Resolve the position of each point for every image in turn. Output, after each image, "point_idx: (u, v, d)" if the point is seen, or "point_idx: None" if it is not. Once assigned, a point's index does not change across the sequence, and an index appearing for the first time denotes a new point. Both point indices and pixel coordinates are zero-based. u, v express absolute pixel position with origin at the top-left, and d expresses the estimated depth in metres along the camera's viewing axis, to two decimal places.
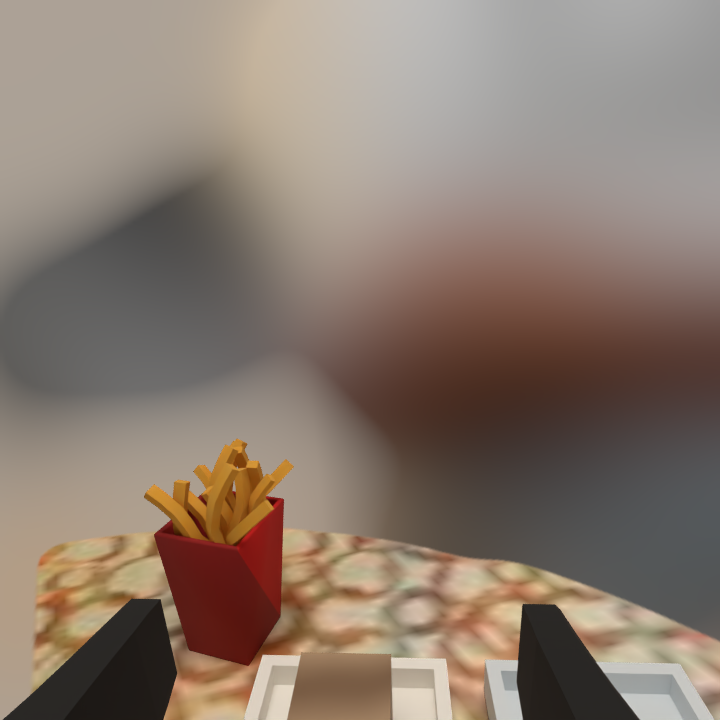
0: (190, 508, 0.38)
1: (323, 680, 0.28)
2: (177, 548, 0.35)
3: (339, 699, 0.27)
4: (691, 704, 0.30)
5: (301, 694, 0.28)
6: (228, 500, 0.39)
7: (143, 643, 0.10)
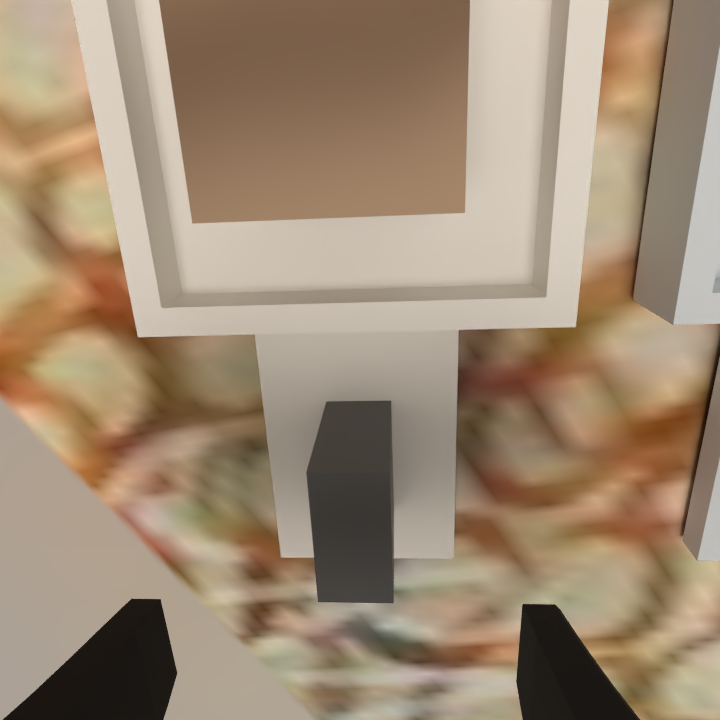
0: None
1: (252, 18, 0.09)
2: None
3: (313, 91, 0.09)
4: None
5: (197, 82, 0.09)
6: None
7: (143, 643, 0.10)
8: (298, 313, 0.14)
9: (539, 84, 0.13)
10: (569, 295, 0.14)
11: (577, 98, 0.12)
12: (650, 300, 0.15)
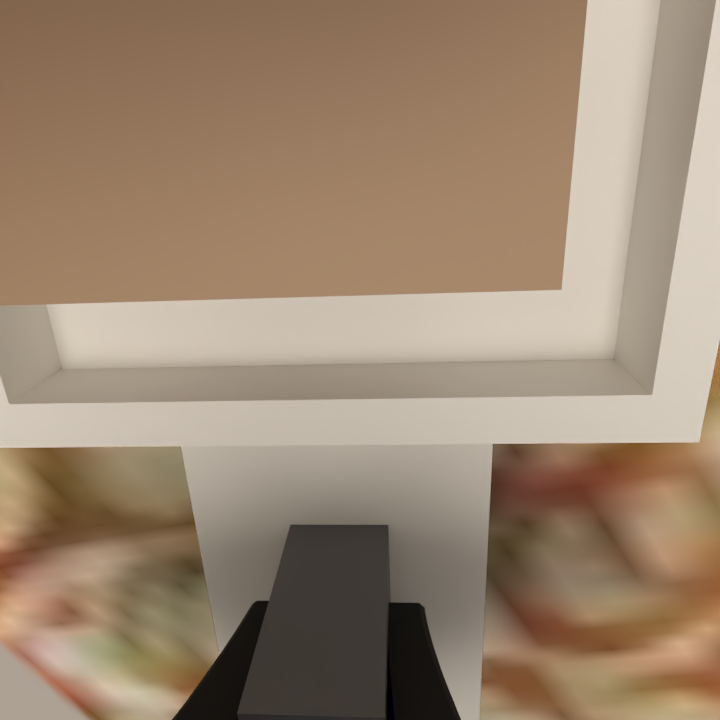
0: None
1: None
2: None
3: None
4: None
5: None
6: None
7: None
8: (233, 415, 0.09)
9: (645, 27, 0.08)
10: (691, 390, 0.08)
11: None
12: None
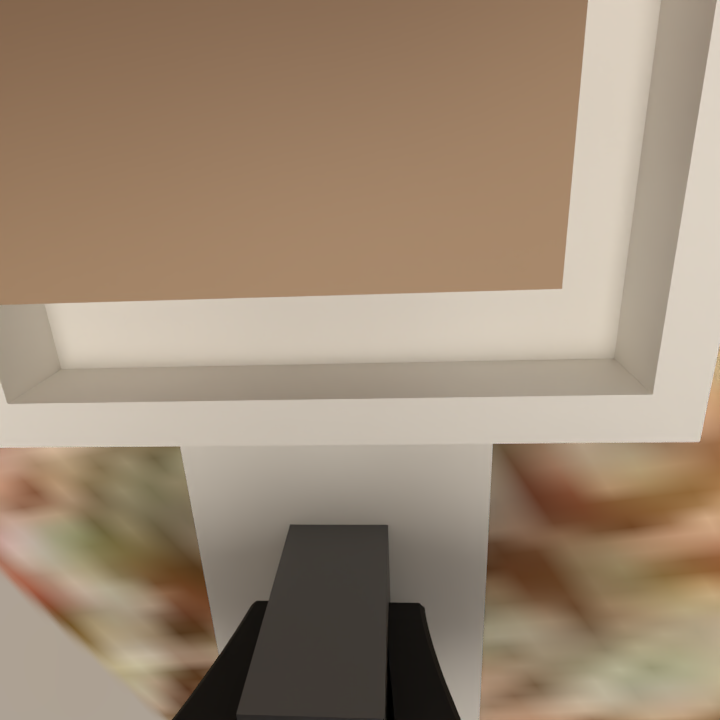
0: None
1: None
2: None
3: None
4: None
5: None
6: None
7: None
8: (232, 415, 0.09)
9: (646, 25, 0.08)
10: (691, 389, 0.08)
11: None
12: None
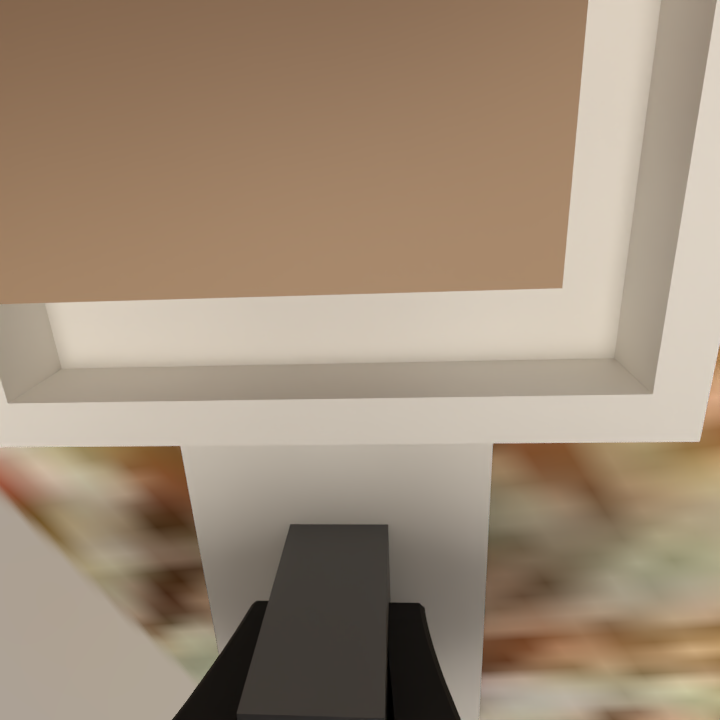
0: None
1: None
2: None
3: None
4: None
5: None
6: None
7: None
8: (233, 414, 0.09)
9: (645, 26, 0.08)
10: (691, 389, 0.08)
11: None
12: None
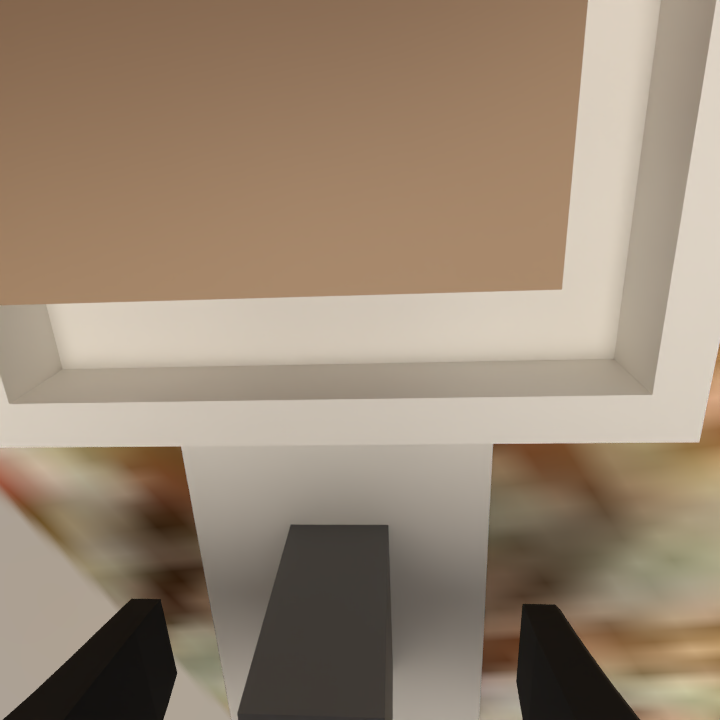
0: None
1: None
2: None
3: None
4: None
5: None
6: None
7: (143, 643, 0.10)
8: (233, 415, 0.09)
9: (645, 27, 0.08)
10: (691, 390, 0.08)
11: None
12: None
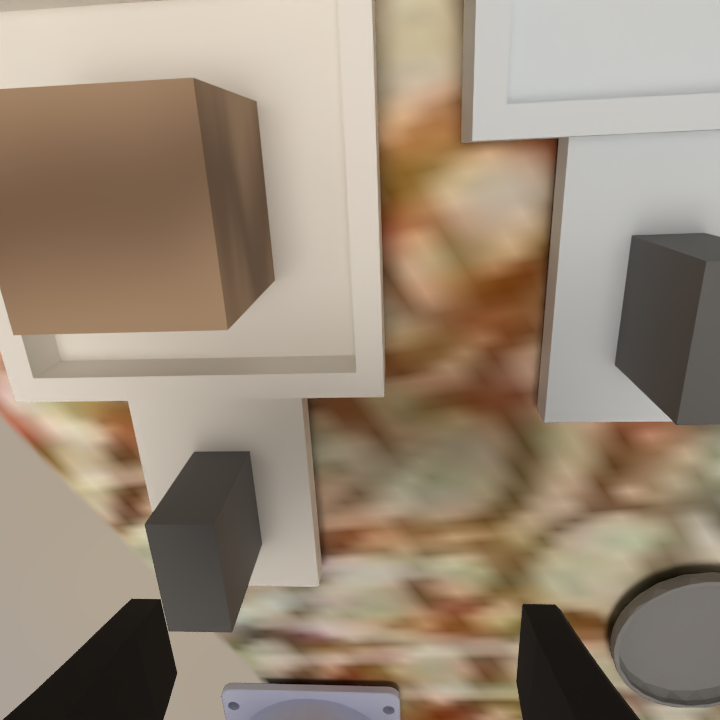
0: None
1: (40, 185, 0.11)
2: None
3: (95, 239, 0.11)
4: None
5: (3, 230, 0.11)
6: None
7: (143, 643, 0.10)
8: (149, 384, 0.16)
9: (346, 192, 0.16)
10: (377, 370, 0.16)
11: (360, 214, 0.14)
12: (465, 131, 0.15)
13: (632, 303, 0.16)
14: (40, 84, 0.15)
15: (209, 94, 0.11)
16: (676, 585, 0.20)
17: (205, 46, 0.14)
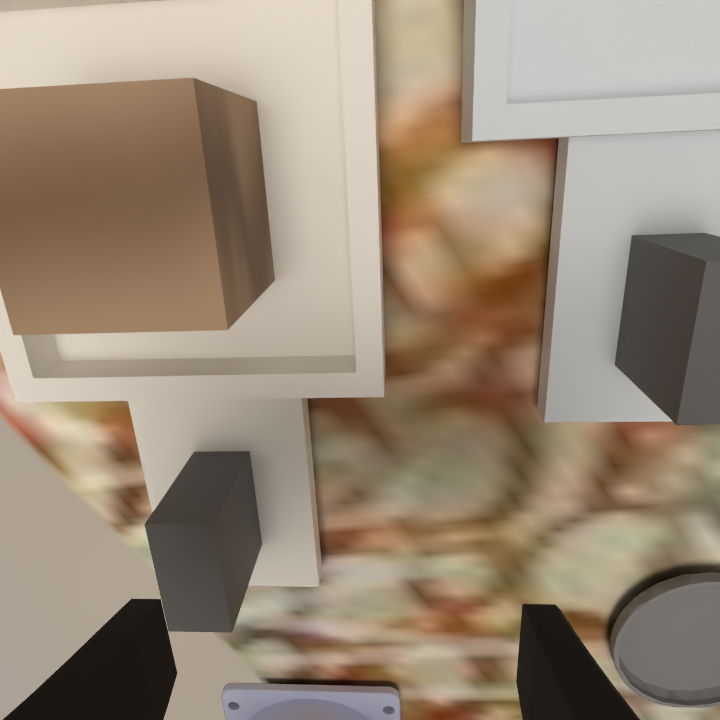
0: None
1: (40, 185, 0.11)
2: None
3: (95, 239, 0.11)
4: None
5: (3, 230, 0.11)
6: None
7: (143, 643, 0.10)
8: (149, 384, 0.16)
9: (346, 192, 0.16)
10: (377, 370, 0.16)
11: (360, 214, 0.14)
12: (465, 131, 0.15)
13: (632, 303, 0.16)
14: (40, 84, 0.15)
15: (209, 94, 0.11)
16: (676, 585, 0.20)
17: (205, 46, 0.14)
